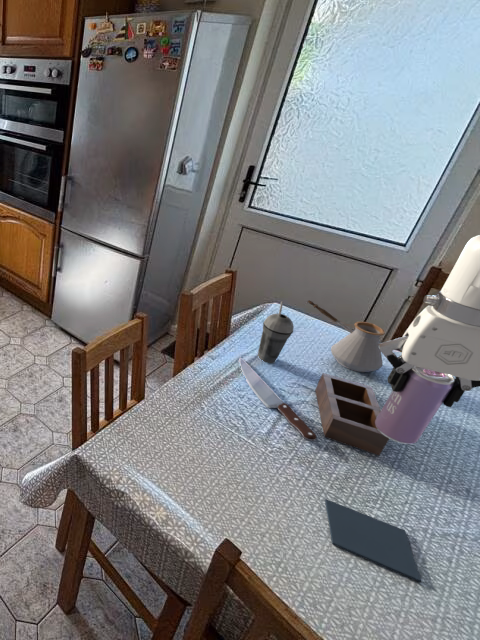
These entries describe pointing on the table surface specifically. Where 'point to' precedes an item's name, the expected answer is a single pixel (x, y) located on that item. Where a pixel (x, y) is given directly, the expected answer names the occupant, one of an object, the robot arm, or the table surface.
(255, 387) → the steak knife
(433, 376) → the beverage can
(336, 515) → the mat
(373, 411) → the box
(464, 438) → the table surface
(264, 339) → the beverage cup
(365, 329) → the coffee pot
